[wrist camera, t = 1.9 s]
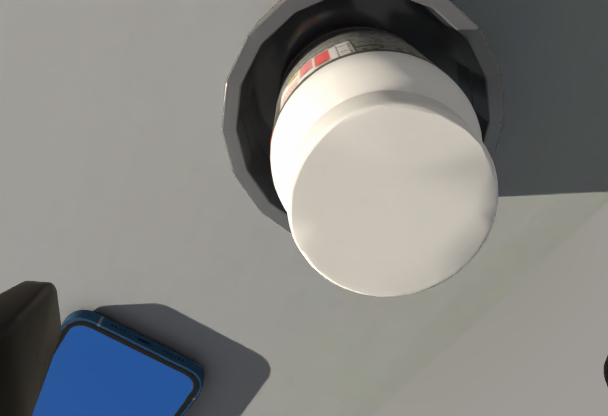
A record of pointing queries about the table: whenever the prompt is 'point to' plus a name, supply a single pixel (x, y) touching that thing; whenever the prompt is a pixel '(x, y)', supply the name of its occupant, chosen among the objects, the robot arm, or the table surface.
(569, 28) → the table surface
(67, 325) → the smartphone
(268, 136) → the pot
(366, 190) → the pill bottle
